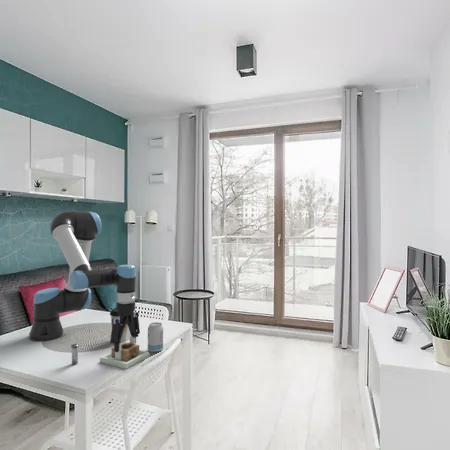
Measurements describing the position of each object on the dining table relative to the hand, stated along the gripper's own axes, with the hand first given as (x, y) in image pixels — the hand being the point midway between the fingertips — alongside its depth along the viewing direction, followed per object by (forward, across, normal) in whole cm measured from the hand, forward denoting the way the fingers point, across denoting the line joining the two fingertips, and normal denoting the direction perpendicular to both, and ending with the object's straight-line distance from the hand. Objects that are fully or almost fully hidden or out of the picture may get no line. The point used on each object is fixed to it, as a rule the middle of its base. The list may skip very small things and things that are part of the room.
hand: (125, 355), depth 145 cm
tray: (+2, 0, 0) cm, 2 cm away
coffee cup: (+2, +17, +19) cm, 26 cm away
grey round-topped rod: (+2, -13, +15) cm, 20 cm away
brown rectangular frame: (0, 0, 0) cm, 0 cm away
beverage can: (+2, +14, -5) cm, 15 cm away
